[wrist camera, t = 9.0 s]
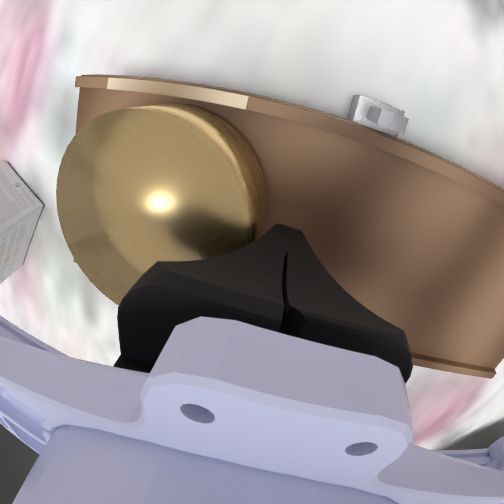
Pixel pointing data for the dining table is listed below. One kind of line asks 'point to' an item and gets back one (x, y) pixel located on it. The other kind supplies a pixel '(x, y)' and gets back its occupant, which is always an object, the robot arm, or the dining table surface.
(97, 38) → the dining table surface
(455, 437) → the dining table surface
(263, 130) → the beam
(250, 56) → the dining table surface
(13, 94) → the dining table surface
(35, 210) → the small box
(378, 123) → the beam stand
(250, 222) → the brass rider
